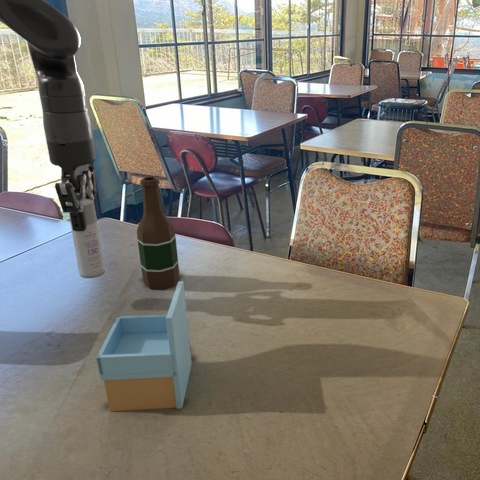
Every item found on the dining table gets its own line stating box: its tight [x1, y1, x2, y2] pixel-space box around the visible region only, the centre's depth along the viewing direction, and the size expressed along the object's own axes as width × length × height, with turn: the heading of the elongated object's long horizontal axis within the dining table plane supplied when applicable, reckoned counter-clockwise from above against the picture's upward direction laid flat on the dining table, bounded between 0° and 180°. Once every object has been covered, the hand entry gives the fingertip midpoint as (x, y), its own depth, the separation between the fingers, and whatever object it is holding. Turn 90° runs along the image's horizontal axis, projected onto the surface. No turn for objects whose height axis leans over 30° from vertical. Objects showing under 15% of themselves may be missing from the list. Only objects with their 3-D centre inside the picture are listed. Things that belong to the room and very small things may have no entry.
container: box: [68, 198, 106, 279], centre depth 93 cm, size 5×5×15 cm
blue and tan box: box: [95, 280, 193, 412], centre depth 73 cm, size 11×11×16 cm
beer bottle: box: [136, 176, 180, 291], centre depth 103 cm, size 8×8×24 cm
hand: (84, 224), depth 92 cm, fingers closed on container, 4 cm apart
